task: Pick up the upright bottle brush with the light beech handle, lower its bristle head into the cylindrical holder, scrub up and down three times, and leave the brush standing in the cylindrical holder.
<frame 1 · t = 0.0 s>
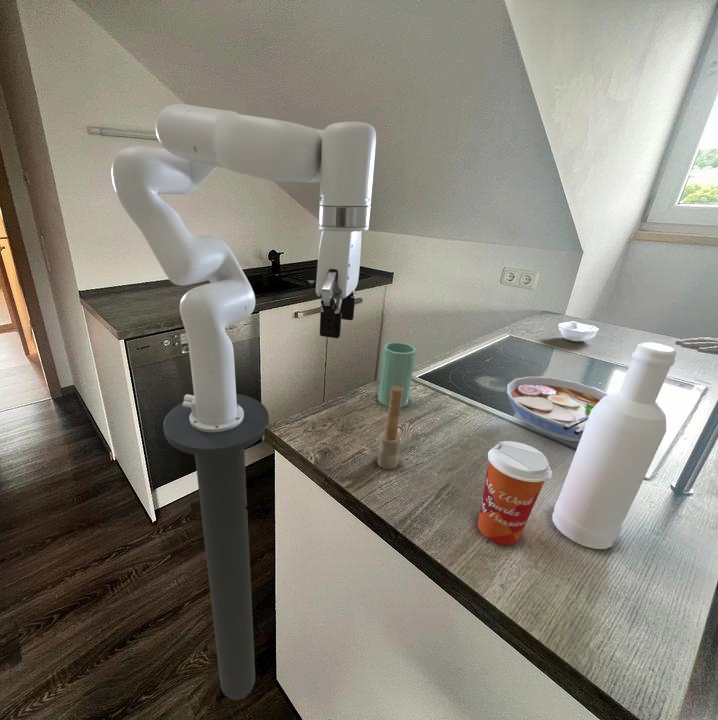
hand: (337, 327, 65), 26 cm above the counter, tool pointing down, fingers open, 9 cm apart
paper cup: (498, 531, 59), on the counter
ramen bowl: (557, 430, 84), on the counter
brush: (387, 463, 73), on the counter
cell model: (574, 340, 135), on the counter
cylindrical holder: (392, 400, 95), on the counter
bottle: (581, 529, 59), on the counter
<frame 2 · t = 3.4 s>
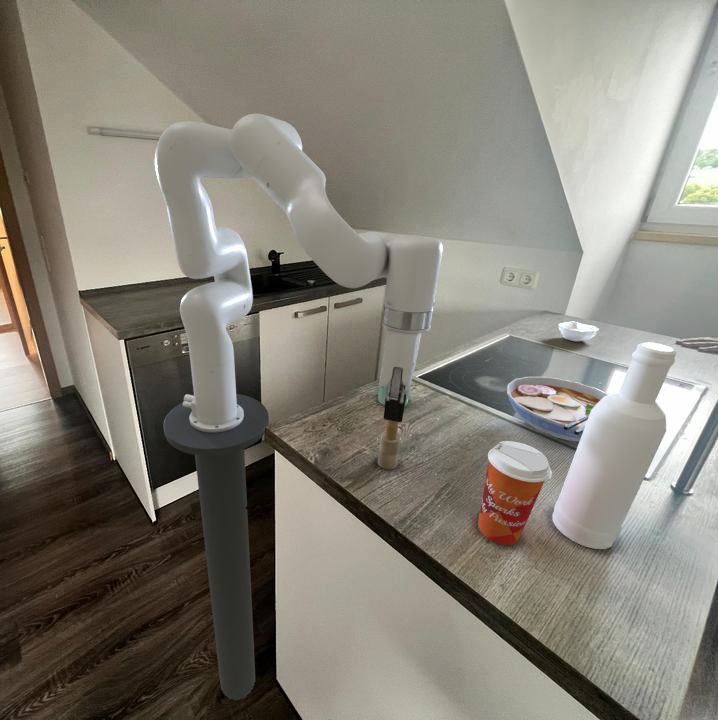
hand: (393, 415, 69), 11 cm above the counter, tool pointing down, fingers closed on brush, 2 cm apart
brush: (387, 463, 73), on the counter, touching gripper
everything else where it was.
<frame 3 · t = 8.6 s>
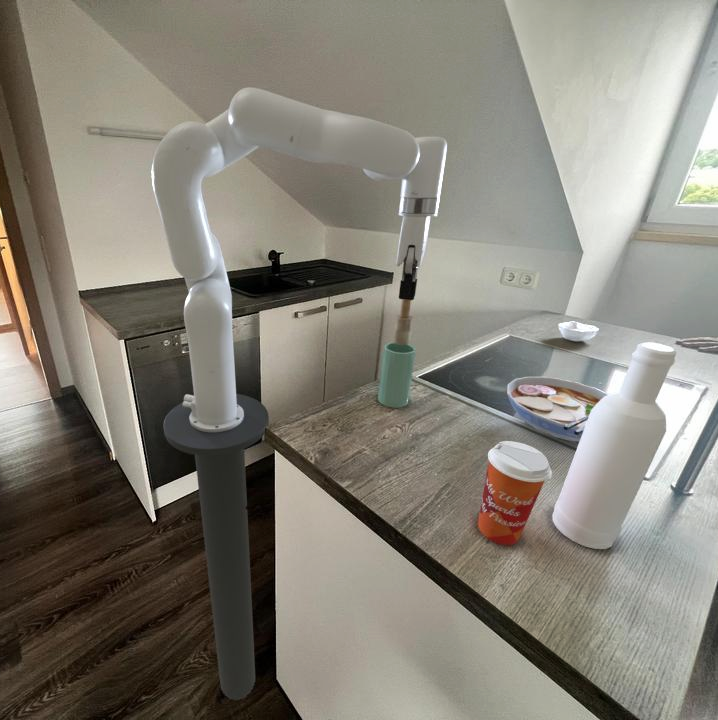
hand: (406, 297, 85), 26 cm above the counter, tool pointing down, fingers closed on brush
brush: (401, 341, 89), point 15 cm above the counter, touching gripper
everything else where it was.
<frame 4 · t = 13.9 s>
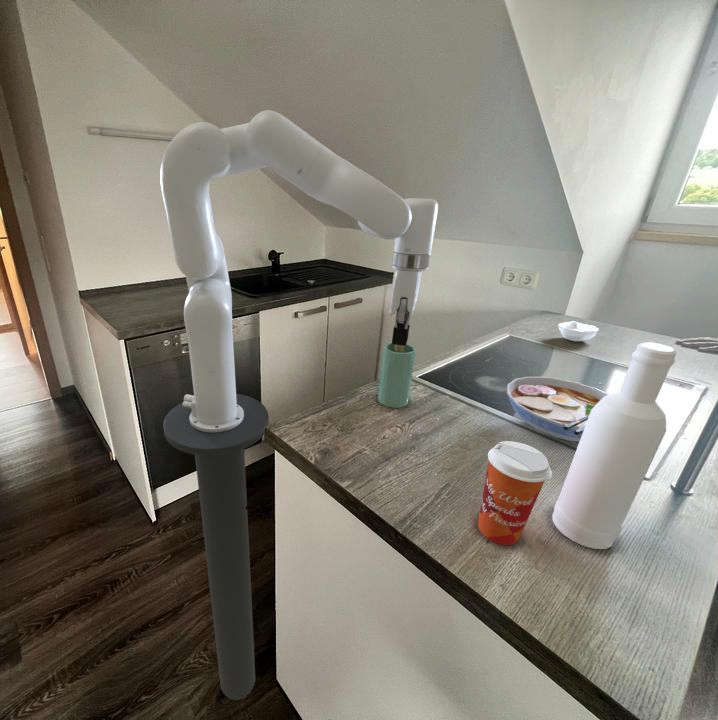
hand: (399, 341, 89), 15 cm above the counter, tool pointing down, fingers closed on brush
brush: (394, 382, 93), point 5 cm above the counter, touching gripper
everything else where it was.
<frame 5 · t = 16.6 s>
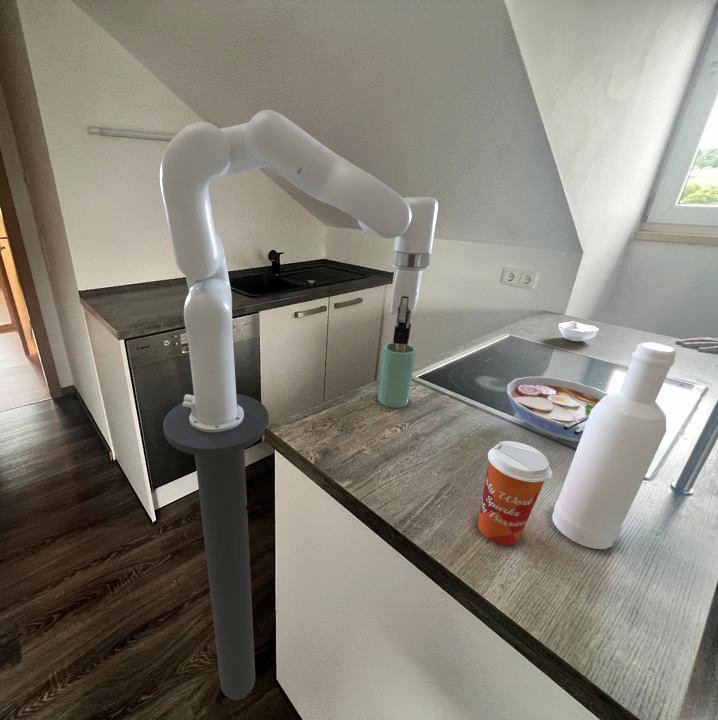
hand: (401, 340, 89), 16 cm above the counter, tool pointing down, fingers closed on brush
brush: (396, 381, 93), point 5 cm above the counter, touching gripper
everything else where it was.
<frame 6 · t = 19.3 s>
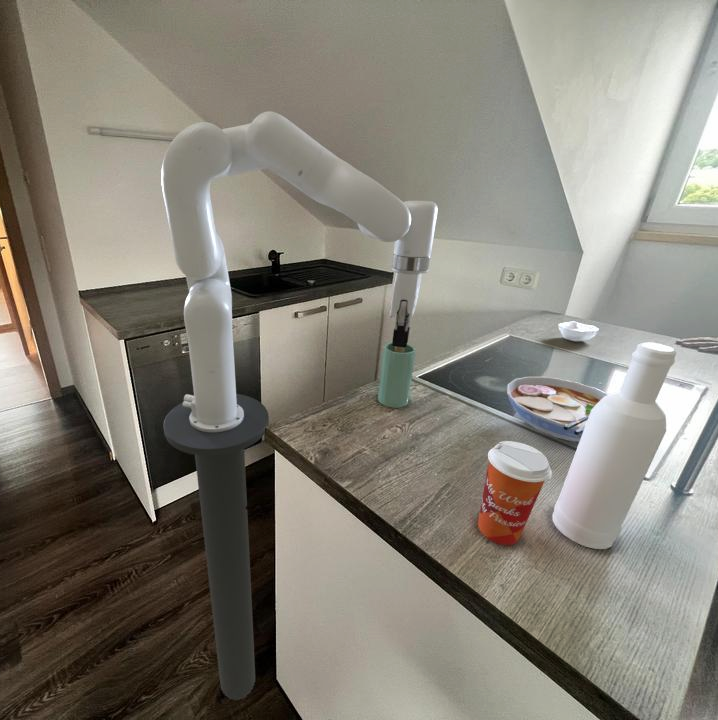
hand: (399, 343, 89), 15 cm above the counter, tool pointing down, fingers closed on brush
brush: (394, 384, 94), point 4 cm above the counter, touching gripper
everything else where it was.
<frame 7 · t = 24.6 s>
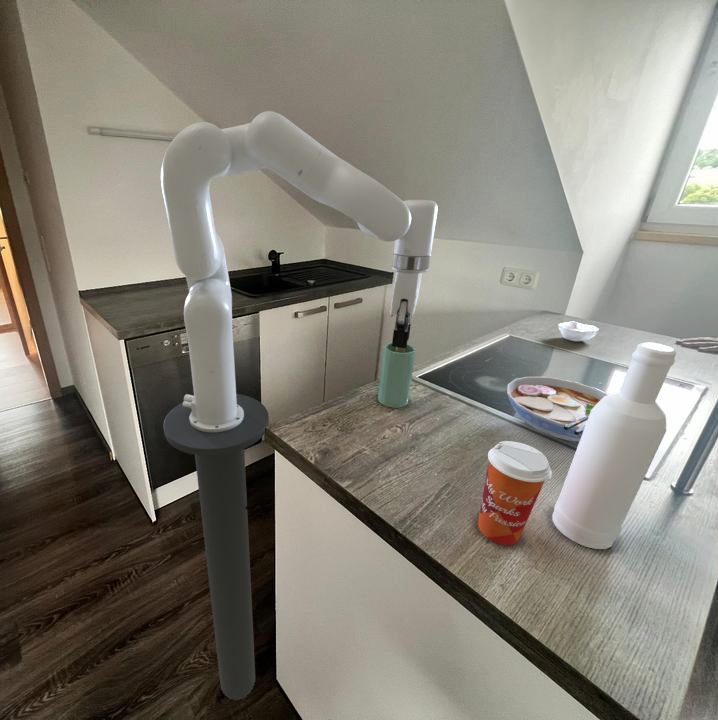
hand: (400, 342, 89), 15 cm above the counter, tool pointing down, fingers open, 4 cm apart
brush: (392, 396, 95), point 1 cm above the counter, touching cylindrical holder
everything else where it was.
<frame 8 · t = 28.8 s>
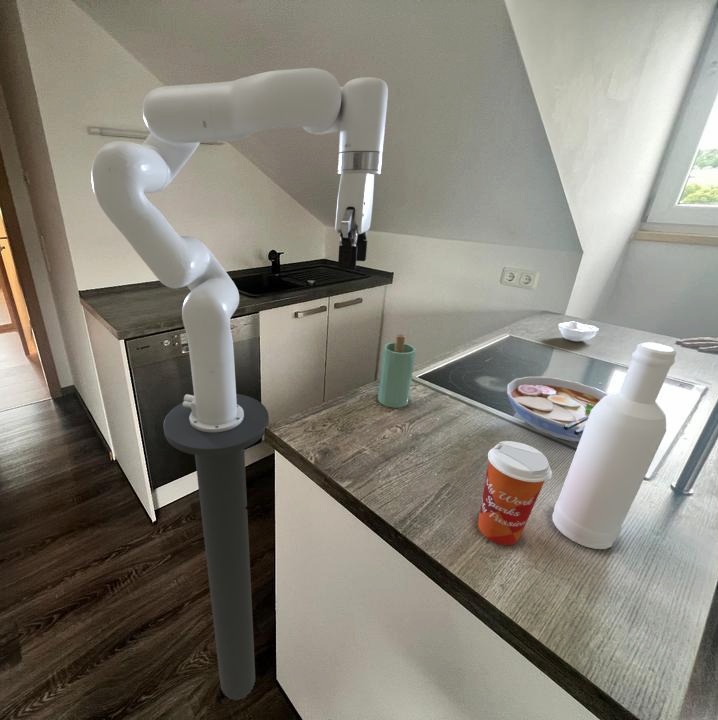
hand: (352, 264, 75), 34 cm above the counter, tool pointing down, fingers open, 9 cm apart
nothing on the counter moved.
at the end: brush 0.2 cm off-centre in the cylindrical holder, point 1.0 cm above the cylindrical holder's base; brush tilted 0°; the gripper is holding nothing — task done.
